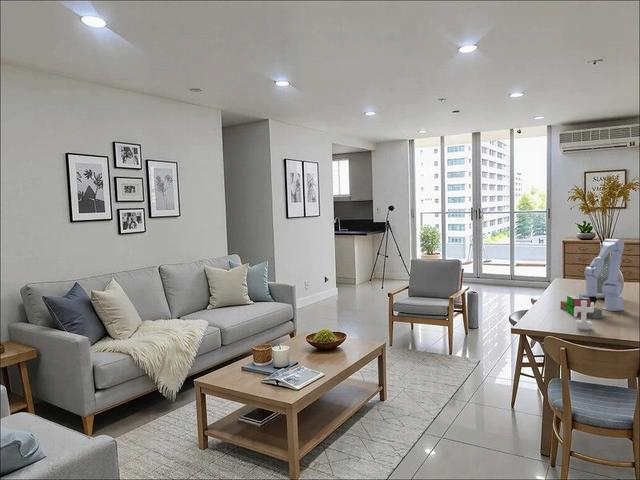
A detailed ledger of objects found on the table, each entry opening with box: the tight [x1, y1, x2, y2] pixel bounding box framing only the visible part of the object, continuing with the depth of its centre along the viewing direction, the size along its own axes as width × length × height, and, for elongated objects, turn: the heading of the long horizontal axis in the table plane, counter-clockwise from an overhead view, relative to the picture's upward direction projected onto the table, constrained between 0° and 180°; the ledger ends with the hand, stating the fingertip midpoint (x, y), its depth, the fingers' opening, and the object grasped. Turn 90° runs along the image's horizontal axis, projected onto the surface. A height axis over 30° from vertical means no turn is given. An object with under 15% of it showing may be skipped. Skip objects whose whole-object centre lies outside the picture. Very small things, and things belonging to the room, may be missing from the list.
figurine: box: [573, 301, 595, 331], centre depth 250 cm, size 7×9×15 cm
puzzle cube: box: [566, 295, 591, 316], centre depth 284 cm, size 10×10×10 cm
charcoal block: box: [587, 307, 603, 320], centre depth 274 cm, size 5×5×5 cm
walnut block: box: [560, 300, 567, 311], centre depth 297 cm, size 5×5×5 cm
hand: (591, 309), depth 285 cm, fingers closed
